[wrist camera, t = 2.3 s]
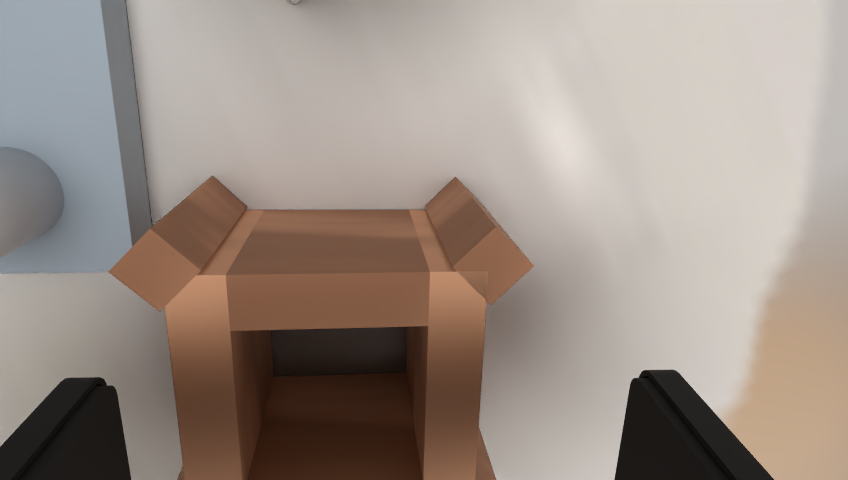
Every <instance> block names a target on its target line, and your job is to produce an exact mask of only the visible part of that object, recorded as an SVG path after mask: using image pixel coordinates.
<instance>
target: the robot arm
mask: <svg viewBox="0 0 848 480" xmlns="http://www.w3.org/2000/svg"><path fill="white" fill-rule="evenodd" d="M0 480H131V475H130V469H129V463H128V457H127V451H126V445H125V439H124V433H123V426H122V420H121V414H120V408H119V402H118V396H117V392H116V389H115V387H114V386H107V384H106V382H105V380H104V379H103V378H101V377H97V378H66V379H64V380H63V381H61V382H60V383H59V384H58V385H57V387H56V388H55V389H54V390H53V391H52V392H51V393H50V394H49V395H48V396H47V397H46V398H45V399H44V400H43V402H42V403H41V404H40V405H39V406H38V407H37V408H36V409H35V410H34V411H33V412H32V413H31V414H30V416H29V417H28V418H27V419H26V420H25V421H24V422H23V423H22V424H21V425H20V426H19V427H18V428H17V429H16V431H15V432H14V433H13V434H12V435H11V436H10V437H9V438H8V439H7V440H6V441H5V442H4V443H3V445H2V446H1V447H0ZM615 480H774V479H773V478H772V477H771V476H770V475H769V473H768V472H767V471H766V470H765V469H764V468H763V467H762V466H761V464H760V463H759V462H758V461H757V460H756V459H755V458H754V457H753V455H752V454H751V453H750V452H749V451H748V450H747V449H746V448H745V447H744V446H743V444H742V443H741V442H740V441H739V440H738V439H737V438H736V436H735V435H734V434H733V433H732V432H731V431H730V430H729V429H728V428H727V426H726V425H725V424H724V423H723V422H722V421H721V420H720V419H719V417H718V416H717V415H716V414H715V413H714V412H713V411H712V410H711V409H710V407H709V406H708V405H707V404H706V403H705V402H704V401H703V400H702V398H701V397H700V396H699V395H698V394H697V393H696V392H695V391H694V390H693V388H692V387H691V386H690V385H689V384H688V383H687V382H686V381H685V379H684V378H683V377H682V376H681V375H680V374H679V373H678V372H677V371H675V370H644V371H642V372H641V374H640V376H639V378H634V379H633V380H632V381H631V384H630V389H629V395H628V402H627V408H626V414H625V420H624V426H623V432H622V438H621V444H620V450H619V456H618V462H617V468H616V474H615Z"/></svg>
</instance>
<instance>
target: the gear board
mask: <svg viewBox="0 0 848 480" xmlns="http://www.w3.org/2000/svg"><path fill="white" fill-rule="evenodd" d="M151 227H152V223H151V215H150V206H149V198H148V189H147V181H146V172H145V164H144V155H143V147H142V138H141V130H140V121H139V113H138V104H137V96H136V87H135V79H134V70H133V62H132V53H131V45H130V36H129V28H128V19H127V11H126V2H125V0H0V273H74V272H108V271H109V270H110V269H111V268H112V267H113V266H114V265H115V264H116V263H117V262H118V261H119V260H120V259H121V258H122V257H123V256H124V255H125V254H126V253H127V252H128V251H129V250H130V249H131V248H132V247H133V246H134V244H135V243H136V242H137V241H138V240H139V239H140V238H141V237H142V236H143V235H144V234H145V233H146V232H147V231H148V230H149V229H150V228H151Z"/></svg>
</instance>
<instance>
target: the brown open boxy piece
mask: <svg viewBox="0 0 848 480" xmlns="http://www.w3.org/2000/svg"><path fill="white" fill-rule="evenodd" d="M246 207H247V206H246V205H245V204H244V203H242V202H241V201H240V200H239V199H238V198H237V197H236V196H234V195H233V194H232V193H231V192H230V191H229V190H228V189H227V188H225V187H224V186H223V185H222V184H221V183H220V182H219V181H218V180H216V179H215V178H214V177H213V176H212V177H210V178H209V179H208V180H207V181H206V182H204V183H203V184H202V185H201V186H200V187H199V188H197V189H196V190H195V191H194V192H193V193H191V194H190V195H189V196H188V197H187V198H186V199H184V200H183V201H182V202H181V203H180V204H178V205H177V206H176V207H175V208H174V209H172V210H171V211H170V212H169V213H168V214H167V215H165V216H164V217H163V218H162V219H161V220H159V221H158V222H157V223H156V224H155V225H153V226H152V227H151V228H150V229H149V230H148V231H147V232H146V233H145V234H144V235H143V236H142V237H141V238H140V239H139V240H138V241H137V242H136V243H135V244H134V246H133V247H132V248H131V249H130V250H129V251H128V252H127V253H126V254H125V255H124V256H123V257H122V258H121V259H120V260H119V261H118V262H117V263H116V264H115V265H114V266H113V267H112V268H111V269H110V270H109V271H108V272H109V273H111V274H112V275H113V276H114V277H116V278H117V279H118V280H120V281H121V282H122V283H123V284H125V285H126V286H127V287H129V288H130V289H131V290H132V291H134V292H135V293H136V294H138V295H139V296H140V297H141V298H143V299H144V300H145V301H147V302H148V303H149V304H151V305H152V306H153V307H154V308H156V309H157V310H158V311H161V310H162V309H163V308H164V307H165V314H166V323H167V331H168V340H169V349H170V357H171V366H172V375H173V383H174V392H175V400H176V409H177V418H178V426H179V435H180V444H181V452H182V461H183V467H182V470H181V472H180V474H179V477H178V479H177V480H496V478H495V475H494V472H493V469H492V466H491V463H490V460H489V457H488V454H487V451H486V447H485V444H484V441H483V438H482V435H481V432H480V429H479V411H480V395H481V379H482V364H483V348H484V332H485V316H486V301H487V302H489V303H490V304H492V303H494V302H495V301H496V300H497V299H498V298H499V297H500V296H501V295H502V294H503V293H505V292H506V291H507V290H508V289H509V288H510V287H511V286H512V285H513V284H515V283H516V282H517V281H518V280H519V279H520V278H521V277H522V276H523V275H525V274H526V273H527V272H528V271H529V270H530V269H531V268H532V267H533V264H532V263H531V262H530V261H529V260H528V258H527V257H526V256H525V255H524V254H523V252H522V251H521V250H520V249H519V248H518V246H517V245H516V244H515V243H514V242H513V241H512V239H511V238H510V237H509V236H508V235H507V233H506V232H505V231H504V230H503V229H502V227H501V226H500V225H499V224H498V223H497V221H496V220H495V219H494V218H493V217H492V216H491V214H490V213H489V212H488V211H487V210H486V208H485V207H484V206H483V205H482V204H481V203H480V202H479V201H478V200H477V199H476V198H475V197H474V196H473V195H472V193H471V192H470V191H469V190H468V189H467V188H466V187H465V186H464V185H463V184H462V183H461V182H460V181H459V180H458V179H457V178H456V177H455V178H454V179H453V180H452V181H451V182H450V183H449V184H448V185H447V186H446V187H445V188H443V189H442V190H441V191H440V192H439V193H438V194H437V195H436V196H435V197H434V198H433V199H432V200H431V201H430V202H429V203H428V204H427V205H426V206H425V208H426V210H245V209H246ZM372 327H407V334H406V373H377V374H348V375H318V376H288V377H274V375H273V357H272V340H271V330H291V329H332V328H372Z"/></svg>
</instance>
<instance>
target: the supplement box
mask: <svg viewBox="0 0 848 480" xmlns="http://www.w3.org/2000/svg"><path fill="white" fill-rule="evenodd" d="M286 1H287V2H288V3H289V4H296V3H298V2H300V1H301V0H286Z"/></svg>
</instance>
